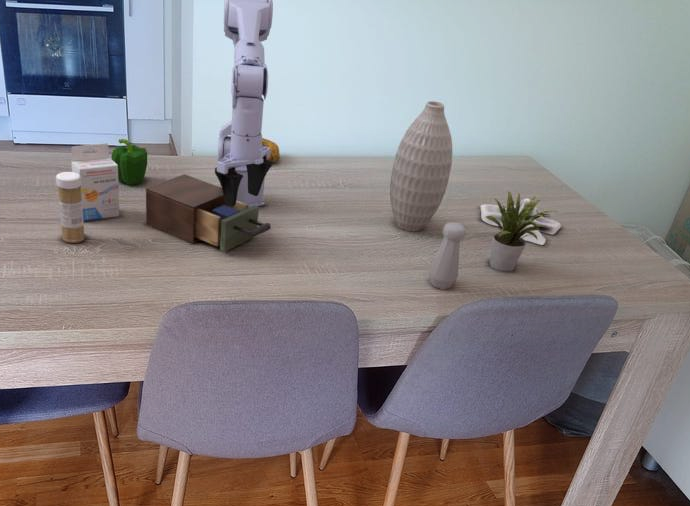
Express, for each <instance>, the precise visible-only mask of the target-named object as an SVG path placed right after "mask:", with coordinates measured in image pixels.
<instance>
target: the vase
mask: <svg viewBox="0 0 690 506" xmlns="http://www.w3.org/2000/svg"><path fill="white" fill-rule="evenodd" d="M452 139H453V138H452V134H451V130H450V126H449V124H448V121H447V118H446V114H445V104H444V103H442V102H439V101H435V100H430V101H427V102H426V103H425V106H424V109H422V111H421V113H420V114H419V115H418V116H417V117H416V118H415V119H414V120H413V122H412V123H411V124H410V125H409V127H408V128H407V129H406V131H405V133H403V136H402V138H401V140H400V142H399V145H398V147H397V150H396V153H395V157H394V160H393V164H392V169H391V171H392V172H391V176H390V184H389V199H390V207H391V208H390V209H391V213H392V216H393V218H394V221H395V223H396V226H397V227H398V228H400V229H401V230H404V231H408V232H419V231H421V230H422V229H424V227H426V226H427V225H428V223H430V221H431V220H432V219H433V217H434V215H435V214H436V213H437V211H438V209H439V207H440V205H441V203H442V201H443V199H444V196H445V194H446V190H447V187H448V183H449V179H450V176H451V170H452V166H453V165H452V164H453V140H452Z"/></svg>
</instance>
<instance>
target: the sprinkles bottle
mask: <svg viewBox="0 0 690 506" xmlns="http://www.w3.org/2000/svg"><path fill="white" fill-rule="evenodd" d="M55 183H56V186H57V191H58V205H59V206H58V207H59V217H60V225H61V234H62V236H61V239H62V240H63V241H64V242H66V243H70V244H72V243H73V244H75V243H80V242H83V241H84V240H85V238H86V235H85V227H84V221H83V210H82V199H81V176H80V175H79V174H78V173H75V172H72V171H62V172H59V173H57V175H56V176H55Z"/></svg>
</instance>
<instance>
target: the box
mask: <svg viewBox="0 0 690 506" xmlns="http://www.w3.org/2000/svg"><path fill="white" fill-rule="evenodd" d="M238 212H240V211H239V210H236V209H234V208H231V207H228V206H226V205H222V206H220V207H217V208H215V209H213V210H212V214H214V215H217V216H219V217H221V220H223V219H225V218H227V217H230V216H232V215H234V214H236V213H238ZM220 236H221V227H220Z"/></svg>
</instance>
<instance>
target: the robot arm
mask: <svg viewBox="0 0 690 506" xmlns="http://www.w3.org/2000/svg"><path fill="white" fill-rule="evenodd" d="M273 13H274V1H273V0H224V5H223V32H224V37H226V38H228V39H230V40H231V41H232V44H233V47H234V48H233V49H234V50H233V51H234V53H233V67H232V69H231V72H232V73H231V83H230V84H231V87H230V88H231V89H230V91H231V92H230V93H231V108H232V113H231V120H230V121H228V122H227V123H226V124H224V125H222V126H221V127H220V129H219V133H218V134H219V135H218V140H217V141H218V143H217V162H216V167H215V168H214V174H215V176H216V177H217V179H218V182H219V184H220V188H222V191H223V195H224V200H225V204H228V205H230V206H235V204H236V200H237V201H240V202H243V203H245V204H248V208H249V207H252V206H254V205H255V206H258V207H262V206H264V205H265V204H266V203H265V202H264V192H265V179H266V178H265V177H266V176H267V174H268V172H269V171H270V169H271V168H272V166H273V162H271V161H269V160H266V158H269V157H270V150H271V148H269V147H266V146H262V138H263V134H262V131H263V130H262V129H263V116H264V103H265V101H264V100H266V98H267V95H268V90H269V71H268V66H267V63H265V59H266V58H265V47H264V44H263V43H262V42H265V41H267V40H268V37H269V35H270V31H271V29H272V24H273V17H274V15H273Z"/></svg>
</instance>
